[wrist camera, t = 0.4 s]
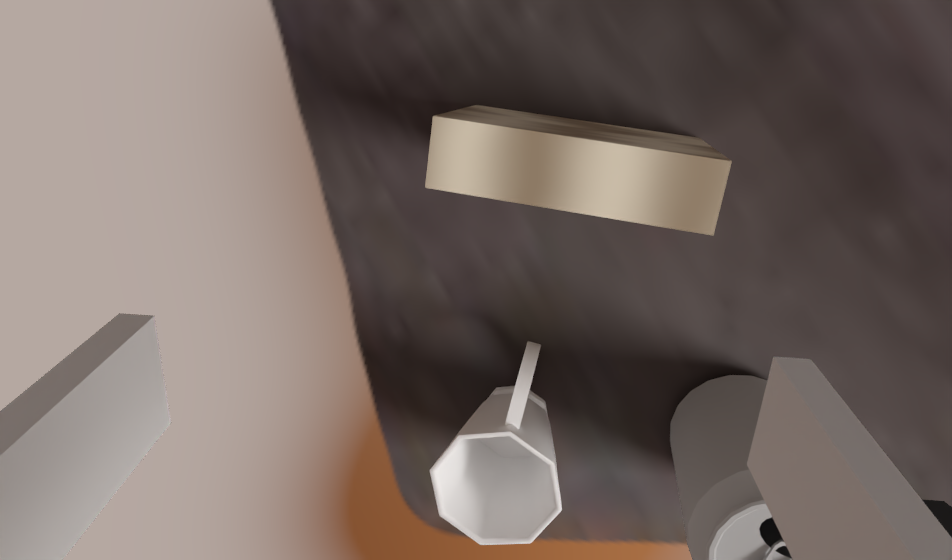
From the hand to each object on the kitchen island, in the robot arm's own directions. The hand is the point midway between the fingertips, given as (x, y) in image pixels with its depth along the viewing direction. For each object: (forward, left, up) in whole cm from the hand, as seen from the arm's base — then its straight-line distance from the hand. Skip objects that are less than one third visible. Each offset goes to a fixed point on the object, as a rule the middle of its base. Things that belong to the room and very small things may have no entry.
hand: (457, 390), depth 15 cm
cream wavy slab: (-3, +1, -25) cm, 25 cm away
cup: (+12, +4, -25) cm, 28 cm away
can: (+8, +16, -25) cm, 31 cm away
